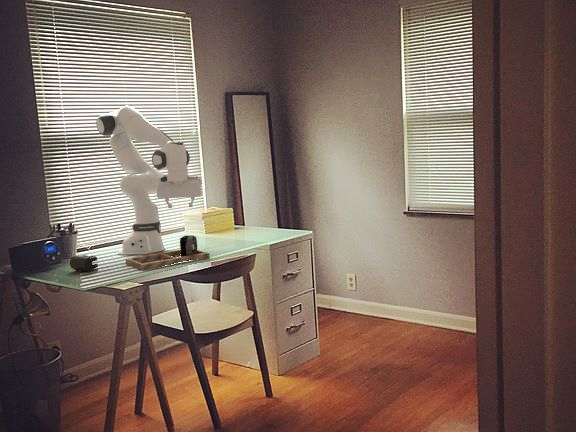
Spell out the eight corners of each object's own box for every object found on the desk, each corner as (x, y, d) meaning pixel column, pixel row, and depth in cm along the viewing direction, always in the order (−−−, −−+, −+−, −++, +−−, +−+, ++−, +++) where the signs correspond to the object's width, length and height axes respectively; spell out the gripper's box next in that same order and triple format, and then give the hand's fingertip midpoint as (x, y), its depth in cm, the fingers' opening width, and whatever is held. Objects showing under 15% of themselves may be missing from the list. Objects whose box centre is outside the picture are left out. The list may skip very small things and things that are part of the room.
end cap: (70, 272, 266) (68, 256, 265) (83, 268, 272) (82, 253, 271) (85, 274, 261) (84, 258, 260) (99, 270, 267) (97, 255, 266)
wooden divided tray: (142, 270, 260) (142, 264, 260) (126, 263, 277) (125, 258, 277) (209, 258, 278) (209, 253, 278) (190, 252, 294) (189, 247, 294)
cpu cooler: (192, 259, 276) (190, 237, 275) (180, 260, 277) (178, 237, 276) (198, 255, 287) (197, 233, 285) (186, 255, 287) (185, 234, 286)
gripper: (202, 175, 281) (204, 205, 283) (157, 177, 281) (159, 207, 283) (200, 176, 275) (202, 207, 276) (154, 178, 275) (157, 209, 276)
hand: (180, 207), depth 280 cm, fingers open, 8 cm apart
